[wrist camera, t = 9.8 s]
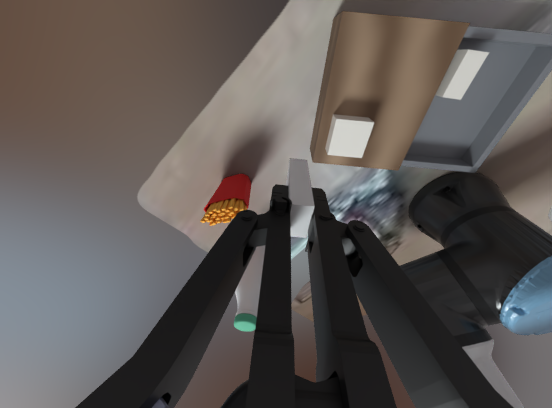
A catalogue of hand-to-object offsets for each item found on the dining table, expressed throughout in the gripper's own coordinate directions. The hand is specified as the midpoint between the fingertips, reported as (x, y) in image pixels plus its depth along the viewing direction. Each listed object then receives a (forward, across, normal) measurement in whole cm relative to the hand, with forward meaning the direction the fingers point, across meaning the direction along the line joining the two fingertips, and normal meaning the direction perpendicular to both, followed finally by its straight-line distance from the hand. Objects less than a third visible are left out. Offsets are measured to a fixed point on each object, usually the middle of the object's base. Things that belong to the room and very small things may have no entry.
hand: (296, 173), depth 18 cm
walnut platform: (+21, -11, -4) cm, 24 cm away
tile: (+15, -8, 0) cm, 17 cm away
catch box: (+21, -25, -4) cm, 32 cm away
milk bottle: (+21, +5, +35) cm, 41 cm away
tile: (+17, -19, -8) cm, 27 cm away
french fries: (+21, +10, +15) cm, 27 cm away
